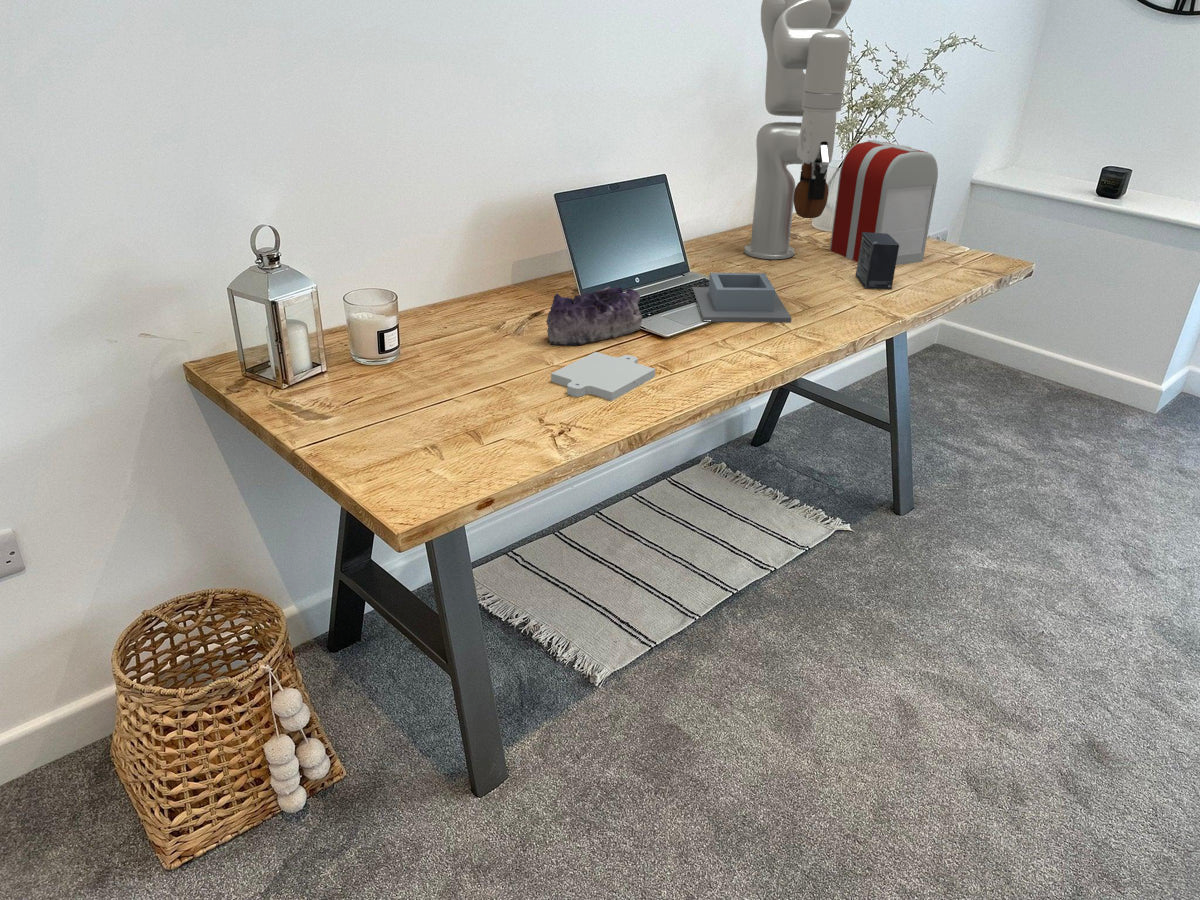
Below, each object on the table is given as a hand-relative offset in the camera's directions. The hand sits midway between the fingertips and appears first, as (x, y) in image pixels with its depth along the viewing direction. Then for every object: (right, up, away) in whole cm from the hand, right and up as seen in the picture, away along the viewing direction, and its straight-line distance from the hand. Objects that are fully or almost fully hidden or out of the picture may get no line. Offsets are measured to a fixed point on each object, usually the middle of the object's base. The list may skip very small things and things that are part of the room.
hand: (811, 194), depth 188 cm
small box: (+21, -13, +27) cm, 36 cm away
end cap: (-13, -21, +10) cm, 27 cm away
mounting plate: (-42, -40, -26) cm, 64 cm away
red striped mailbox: (+27, -3, +47) cm, 54 cm away
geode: (-44, -30, -7) cm, 54 cm away
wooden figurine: (0, -4, +2) cm, 5 cm away
